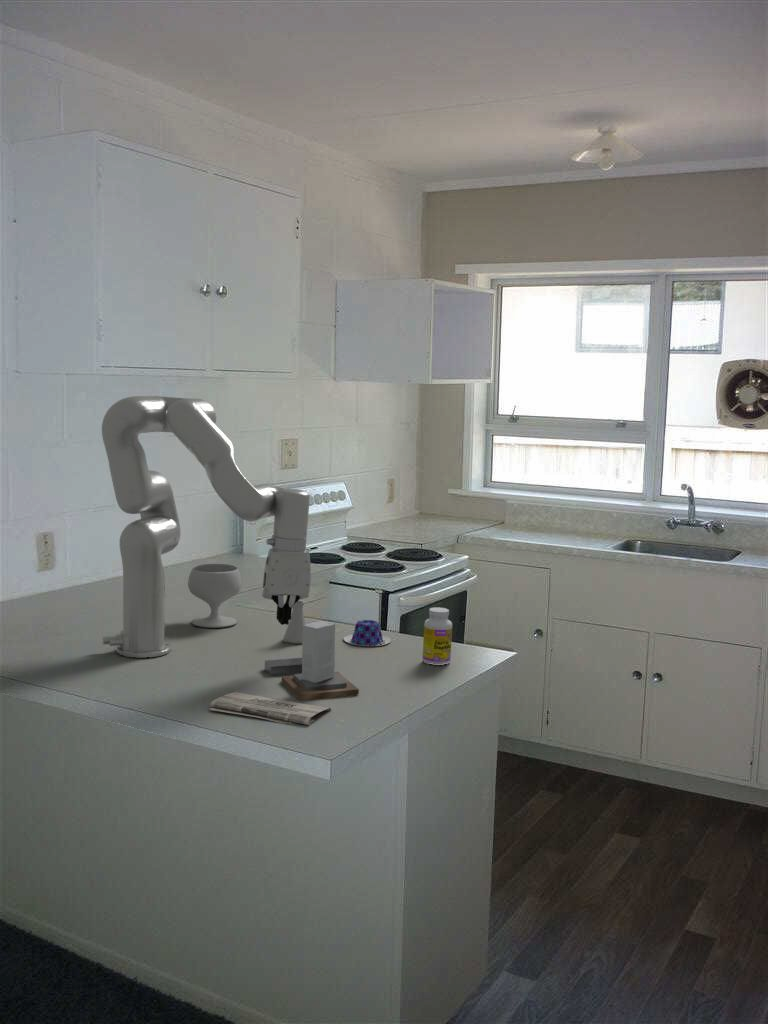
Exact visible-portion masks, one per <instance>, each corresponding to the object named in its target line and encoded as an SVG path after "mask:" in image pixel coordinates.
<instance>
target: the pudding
mask: <svg viewBox="0 0 768 1024" xmlns="http://www.w3.org/2000/svg"><path fill="white" fill-rule="evenodd" d="M351 639H352V640H351ZM383 640H385V644H382V643H381V642H383ZM343 641H344V642H346V643H348V644H351V645H353V646H354V645H355V646H362V647H366V645H371V646H374V645H375V646H374V647H378V646H380V644H382V645H381V646H384V645H388V644H389V643H391V641H392V640H391V638H390V637H388V636H386V635H383V634H382V630H381V625H380V623H379V622H378V621H376V620H371V619H362V620H357V622H356V623H355V627H354V631H353V633H352V634H348V635H346V636H344V637H343ZM377 644H379V645H377Z"/></svg>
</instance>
